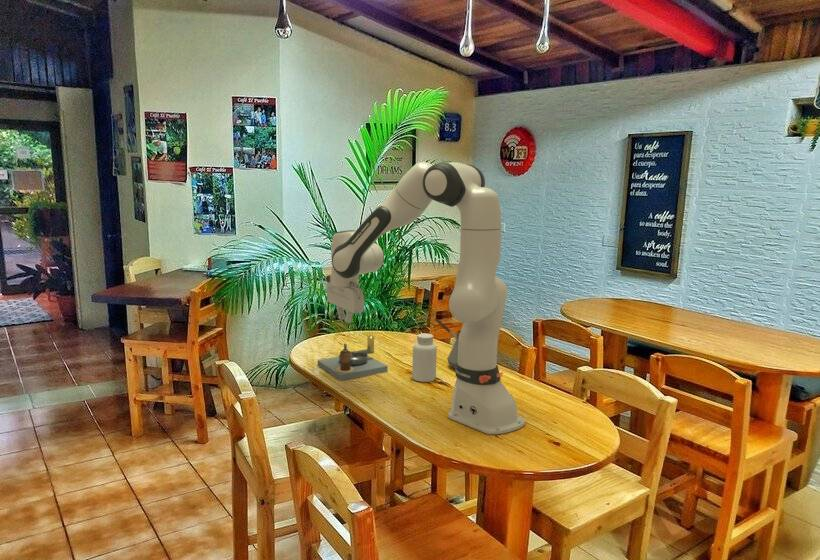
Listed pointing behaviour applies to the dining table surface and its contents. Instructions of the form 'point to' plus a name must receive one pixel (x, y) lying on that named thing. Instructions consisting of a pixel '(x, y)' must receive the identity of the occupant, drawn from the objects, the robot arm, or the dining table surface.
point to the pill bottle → (424, 358)
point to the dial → (362, 353)
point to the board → (352, 368)
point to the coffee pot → (454, 352)
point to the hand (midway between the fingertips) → (345, 320)
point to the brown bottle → (345, 359)
